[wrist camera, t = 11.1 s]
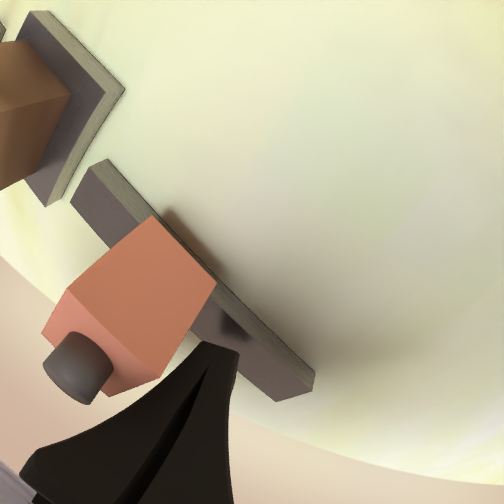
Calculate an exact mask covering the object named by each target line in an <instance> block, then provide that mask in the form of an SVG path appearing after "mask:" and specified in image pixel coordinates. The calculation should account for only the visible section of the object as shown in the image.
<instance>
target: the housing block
mask: <svg viewBox="0 0 504 504" xmlns="http://www.w3.org/2000/svg"><path fill="white" fill-rule="evenodd" d="M71 95H72V94H71V93H70V91H69V90H68V89H67V88H66V87H65V86H64V85H63V83H62V82H61V81H60V80H59V79H58V78H57V76H56V75H55V74H54V73H53V72H52V70H51V69H50V68H49V67H48V66H47V65H46V63H45V62H44V61H43V60H42V59H41V57H40V56H39V55H38V54H37V53H36V51H35V50H34V49H33V48H32V47H31V45H30V44H29V43H28V42H27V41H26V40H19V41H10V42H2V43H0V191H1V190H3V189H4V188H6V187H8V186H10V185H12V184H14V183H16V182H18V181H20V180H22V179H24V178H26V177H28V176H30V175H32V174H34V173H36V171H37V168H38V166H39V163H40V161H41V158H42V156H43V153H44V151H45V149H46V146H47V144H48V142H49V140H50V137H51V135H52V133H53V131H54V129H55V127H56V125H57V122H58V120H59V118H60V116H61V114H62V112H63V110H64V108H65V107H66V105H67V103H68V101H69V99H70V97H71Z"/></svg>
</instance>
